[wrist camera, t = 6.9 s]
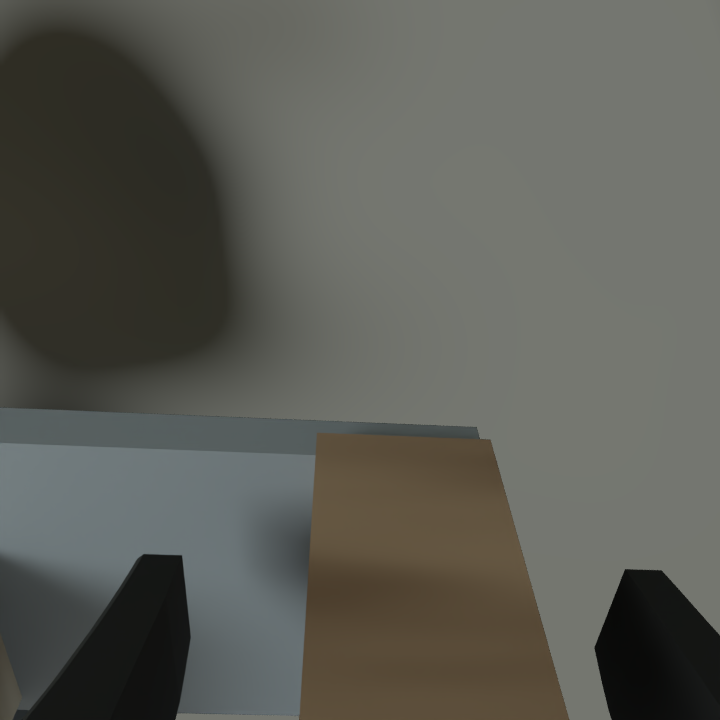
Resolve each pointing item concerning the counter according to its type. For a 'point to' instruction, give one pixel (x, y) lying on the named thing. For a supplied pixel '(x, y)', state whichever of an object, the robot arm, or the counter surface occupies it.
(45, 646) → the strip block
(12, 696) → the block
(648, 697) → the robot arm
